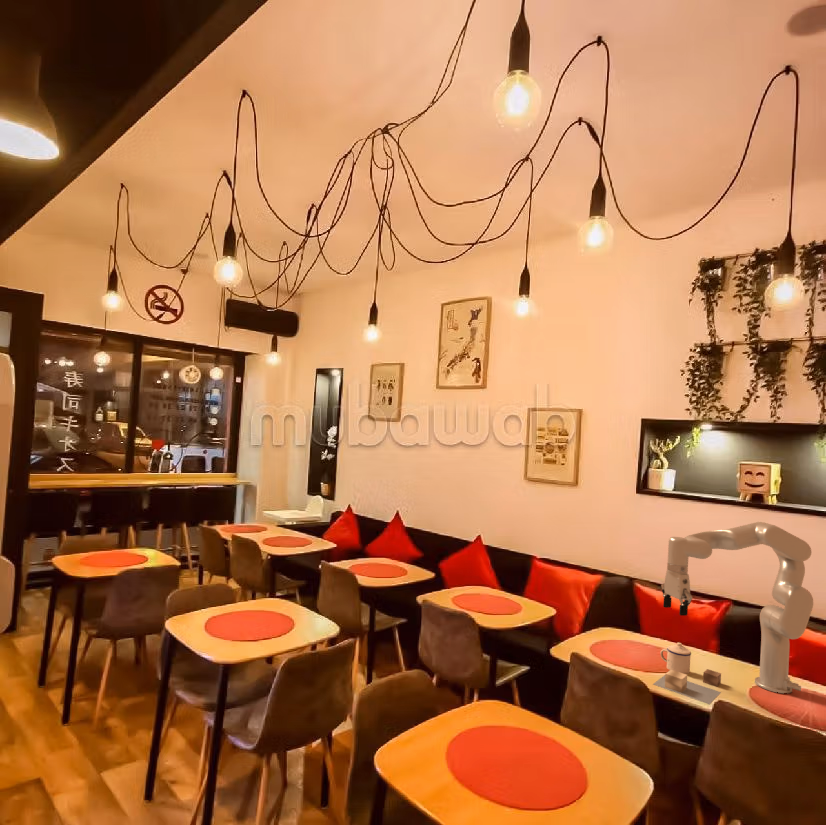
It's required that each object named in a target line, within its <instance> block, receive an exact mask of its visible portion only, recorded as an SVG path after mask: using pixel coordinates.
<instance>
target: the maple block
mask: <svg viewBox="0 0 826 825" xmlns="http://www.w3.org/2000/svg"><path fill="white" fill-rule="evenodd" d="M664 675H665V687H666V688H669V689H672V690H675V691H678V692H681V693H682V692H683V691H684V690H685V689H686V688H687V681H688V674H683V673H680V672H677V671H674V670H668V671H667V672H666V673H665V674H664Z"/></svg>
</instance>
